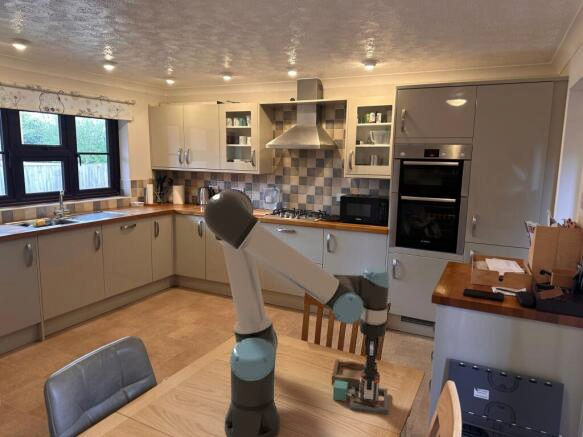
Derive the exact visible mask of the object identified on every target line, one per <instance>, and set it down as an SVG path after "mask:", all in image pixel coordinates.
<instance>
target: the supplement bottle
mask: <svg viewBox="0 0 583 437" xmlns="http://www.w3.org/2000/svg"><path fill="white" fill-rule="evenodd" d="M377 365H378V364H377ZM377 365H375V373H374V377H375V380H374V391H373V399H366V398H364V386H365V379H363V376H366V364H364V369H363V370H362V371H361V373H360V385H359V391H358V399H359V401H360V402H361V404H364V405H371V406H375V405H376V404H377V403H378V402H379V395H380V394H379V388H380V380H381V375H380V373H379V371H378V366H377Z"/></svg>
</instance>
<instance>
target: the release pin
mask: <svg viewBox="0 0 583 437" xmlns="http://www.w3.org/2000/svg"><path fill="white" fill-rule="evenodd" d="M351 394H354V395H356V391H355V390H352V389H348V382H344V381H337V380H335V383H334V385H333V393H332V395H333V396H332V400H336V401H344V402H347V397H348V395H351Z"/></svg>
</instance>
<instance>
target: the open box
mask: <svg viewBox="0 0 583 437" xmlns="http://www.w3.org/2000/svg"><path fill="white" fill-rule="evenodd" d="M364 364H366V362H361V361H354V360H344V359H336V358H335V360H334V365H333V370H332V374H331V385H333V386H334V383H335V380H337V381H344V382H348V387H349V388H352V384H353V385H360V373H361V371H362V370H363V369H364Z"/></svg>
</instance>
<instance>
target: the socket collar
mask: <svg viewBox="0 0 583 437" xmlns="http://www.w3.org/2000/svg"><path fill="white" fill-rule="evenodd" d="M351 390H355V392H359V385H353V384H352V387H351ZM355 395H356V394H355ZM355 395H354V394H350V400H349V410H353V411H360V412H361V411H362V412H367V413H372V414H373V413H374V414H379V415H380V414H381V415H387V416H388V414H389V402H388V388H383V387H382V388H381V387H379V395H382V396H383V406H377V405H376V406H375V405H367V404H364V403H355Z"/></svg>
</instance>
